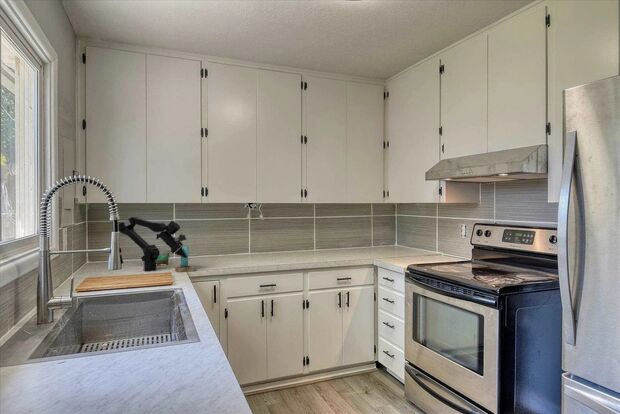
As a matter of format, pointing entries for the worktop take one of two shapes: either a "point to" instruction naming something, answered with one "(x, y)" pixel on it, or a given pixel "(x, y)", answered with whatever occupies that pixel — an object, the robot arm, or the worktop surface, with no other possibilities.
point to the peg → (184, 260)
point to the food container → (163, 257)
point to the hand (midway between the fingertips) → (186, 257)
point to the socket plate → (184, 269)
